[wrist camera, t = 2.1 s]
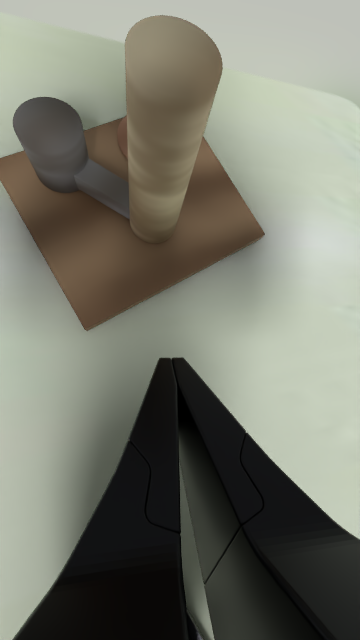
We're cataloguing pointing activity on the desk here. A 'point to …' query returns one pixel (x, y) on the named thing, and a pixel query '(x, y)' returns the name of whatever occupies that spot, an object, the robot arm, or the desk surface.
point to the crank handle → (135, 128)
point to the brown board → (126, 229)
